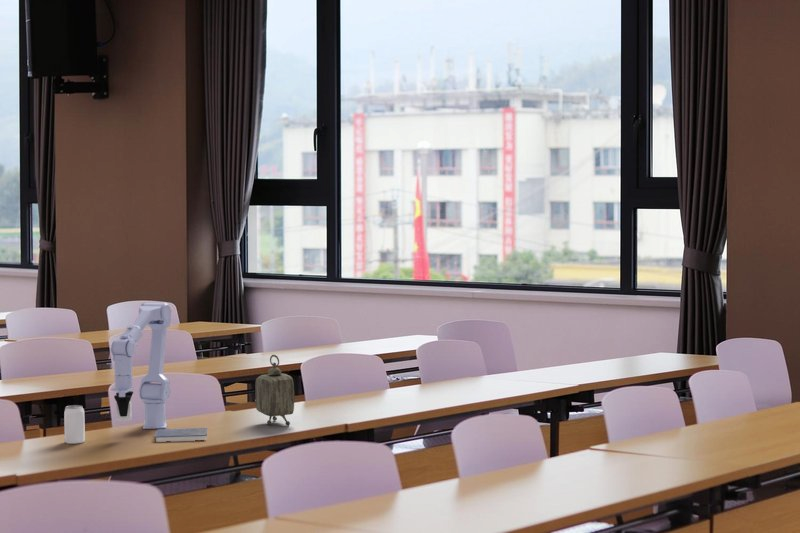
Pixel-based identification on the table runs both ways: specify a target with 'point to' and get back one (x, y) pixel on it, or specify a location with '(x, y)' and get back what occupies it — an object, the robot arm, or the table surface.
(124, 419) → the block
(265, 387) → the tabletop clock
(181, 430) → the notebook
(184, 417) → the table surface
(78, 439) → the can
